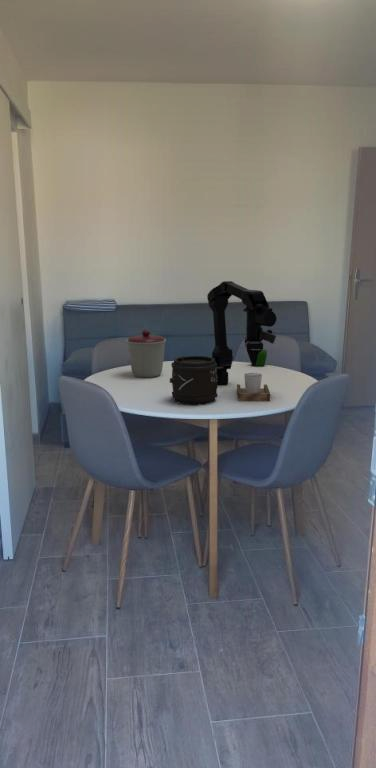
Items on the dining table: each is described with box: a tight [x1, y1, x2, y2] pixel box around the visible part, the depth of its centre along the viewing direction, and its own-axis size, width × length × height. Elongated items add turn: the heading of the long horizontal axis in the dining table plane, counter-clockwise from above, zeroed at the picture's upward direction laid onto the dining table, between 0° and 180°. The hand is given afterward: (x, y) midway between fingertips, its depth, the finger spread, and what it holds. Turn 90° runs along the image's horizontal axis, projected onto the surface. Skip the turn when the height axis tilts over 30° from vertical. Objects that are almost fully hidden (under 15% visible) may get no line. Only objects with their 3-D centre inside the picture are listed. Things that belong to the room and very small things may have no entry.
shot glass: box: [243, 372, 263, 393], centre depth 231 cm, size 7×7×7 cm
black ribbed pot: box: [169, 355, 218, 406], centre depth 224 cm, size 18×18×16 cm
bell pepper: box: [250, 349, 268, 367], centre depth 289 cm, size 8×8×10 cm
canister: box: [125, 329, 167, 378], centre depth 267 cm, size 18×18×21 cm
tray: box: [236, 384, 271, 402], centre depth 230 cm, size 12×16×3 cm
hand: (253, 364), depth 229 cm, fingers open, 9 cm apart
